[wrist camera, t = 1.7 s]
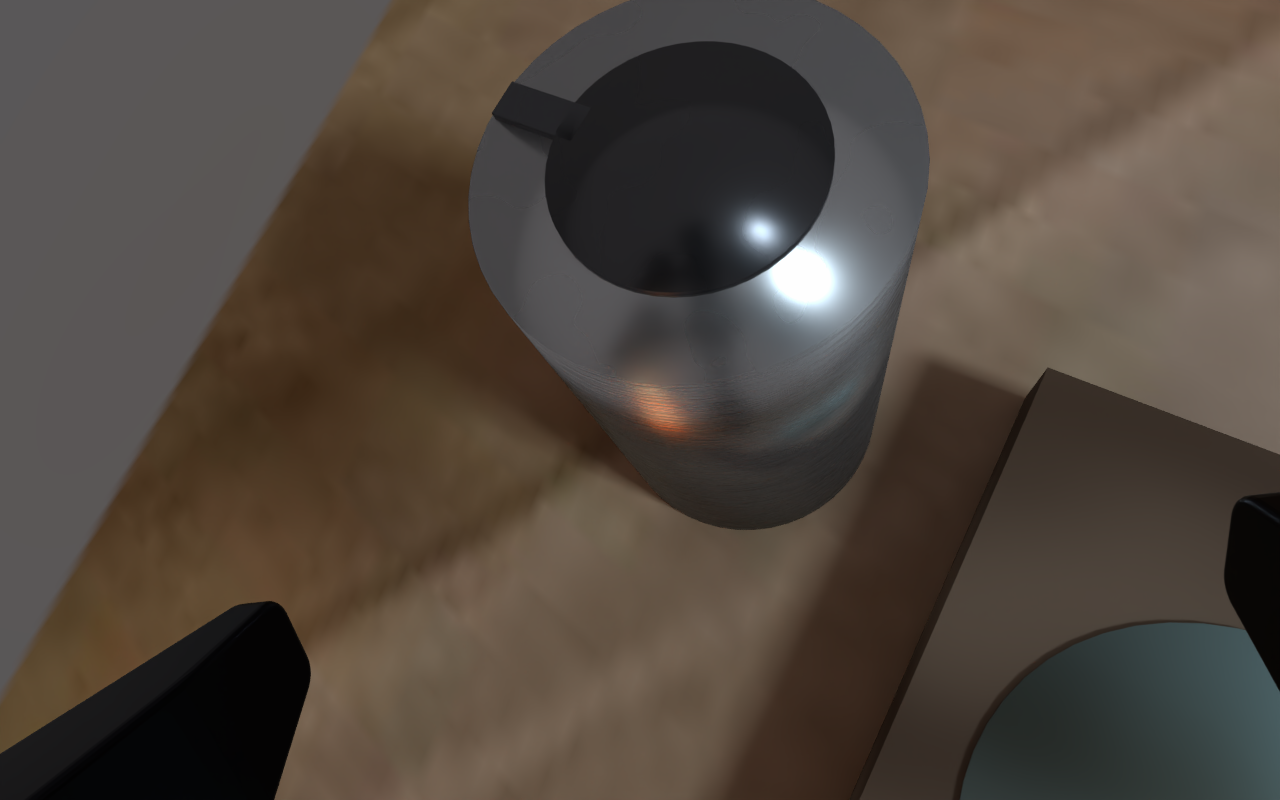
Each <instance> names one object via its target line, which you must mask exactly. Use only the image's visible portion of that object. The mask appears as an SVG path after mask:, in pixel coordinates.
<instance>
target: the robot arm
mask: <svg viewBox="0 0 1280 800" xmlns="http://www.w3.org/2000/svg"><path fill="white" fill-rule="evenodd" d="M1224 584H1225V588H1226V592H1227V595H1228V598H1229V600H1230V602H1231V604H1232V606H1233V608H1234V610H1235V612H1236V614H1237V615H1238V617H1239V619H1240V621H1241V623H1242V624H1243V626H1244V628H1245V630H1246V632H1247V633H1248V635H1249V637H1250V639H1251V641H1252V643H1253V644H1254V646H1255V648H1256V650H1257V652H1258V653H1259V655H1260V657H1261V659H1262V661H1263V663H1264V664H1265V666H1266V668H1267V670H1268V672H1269V673H1270V675H1271V677H1272V679H1273V681H1274V683H1275V684H1276V686H1277V688H1278V690H1279V692H1280V492H1275V493H1266V494H1257V495H1248V496H1244V497H1242V498H1241V499H1239V500H1238V501H1237V502H1236V503H1235V505H1234V507H1233V510H1232V514H1231V521H1230V528H1229V536H1228V544H1227V551H1226V559H1225V567H1224ZM310 677H311V670H310V663H309V660H308V657H307V655H306V653H305V651H304V648H303V646H302V644H301V642H300V640H299V638H298V636H297V634H296V632H295V630H294V628H293V625H292V623H291V621H290V619H289V617H288V615H287V613H286V611H285V610H284V608H283V607H282V606H281V605H279V604H278V603H276V602H272V601H266V602H256V603H247V604H240V605H237V606H234V607H232V608H231V609H229V610H227V611H226V612H224V613H223V614H221V615H219V616H218V617H216V618H215V619H213V620H212V621H210V622H208V623H207V624H205V625H204V626H202V627H200V628H199V629H197V630H196V631H194V632H193V633H191V634H189V635H188V636H186V637H185V638H183V639H181V640H180V641H178V642H177V643H175V644H174V645H172V646H170V647H169V648H167V649H166V650H164V651H162V652H161V653H159V654H158V655H156V656H155V657H153V658H151V659H150V660H148V661H147V662H145V663H143V664H142V665H140V666H139V667H137V668H136V669H134V670H132V671H131V672H129V673H128V674H126V675H124V676H123V677H121V678H120V679H118V680H117V681H115V682H113V683H112V684H110V685H109V686H107V687H105V688H104V689H102V690H101V691H99V692H97V693H96V694H94V695H93V696H91V697H90V698H88V699H86V700H85V701H83V702H82V703H80V704H78V705H77V706H75V707H74V708H72V709H71V710H69V711H67V712H66V713H64V714H63V715H61V716H59V717H58V718H56V719H55V720H53V721H52V722H50V723H48V724H47V725H45V726H44V727H42V728H40V729H39V730H37V731H36V732H34V733H33V734H31V735H29V736H28V737H26V738H25V739H23V740H21V741H20V742H18V743H17V744H15V745H14V746H12V747H10V748H9V749H7V750H6V751H4V752H2V753H1V754H0V800H274V799H275V795H276V792H277V789H278V786H279V782H280V779H281V776H282V773H283V769H284V766H285V763H286V760H287V756H288V753H289V750H290V747H291V743H292V740H293V737H294V734H295V731H296V727H297V724H298V721H299V718H300V714H301V711H302V708H303V705H304V701H305V698H306V695H307V692H308V688H309V684H310Z"/></svg>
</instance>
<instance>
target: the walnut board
mask: <svg viewBox="0 0 1280 800" xmlns="http://www.w3.org/2000/svg"><path fill="white" fill-rule="evenodd" d="M1275 492H1280V455H1279V454H1276V453H1274V452H1271V451H1268V450H1266V449H1263V448H1260V447H1258V446H1255V445H1252V444H1250V443H1247V442H1244V441H1242V440H1239V439H1236V438H1234V437H1231V436H1228V435H1226V434H1223V433H1220V432H1218V431H1215V430H1213V429H1210V428H1207V427H1205V426H1202V425H1199V424H1197V423H1194V422H1191V421H1189V420H1186V419H1183V418H1181V417H1178V416H1175V415H1173V414H1170V413H1167V412H1165V411H1162V410H1159V409H1157V408H1154V407H1151V406H1149V405H1146V404H1143V403H1141V402H1138V401H1135V400H1133V399H1130V398H1127V397H1125V396H1122V395H1119V394H1117V393H1114V392H1111V391H1109V390H1106V389H1104V388H1101V387H1098V386H1096V385H1093V384H1090V383H1088V382H1085V381H1082V380H1080V379H1077V378H1074V377H1072V376H1069V375H1066V374H1064V373H1061V372H1058V371H1056V370H1053V369H1050V368H1047V369H1046V371H1045V372H1044V373H1043V375H1042V376H1041V377H1040V379H1039V380H1038V381H1037V383H1036V384H1035V386H1034V387H1033V388H1032V390H1031V391H1030V392H1029V394H1028V395H1027V396H1026V398H1025V400H1024V403H1023V405H1022V407H1021V409H1020V412H1019V414H1018V416H1017V419H1016V421H1015V423H1014V425H1013V428H1012V430H1011V432H1010V435H1009V437H1008V439H1007V441H1006V444H1005V446H1004V448H1003V451H1002V453H1001V455H1000V457H999V460H998V462H997V464H996V467H995V469H994V471H993V473H992V476H991V478H990V480H989V482H988V485H987V487H986V489H985V492H984V494H983V496H982V498H981V501H980V503H979V505H978V508H977V510H976V512H975V514H974V517H973V519H972V521H971V524H970V526H969V528H968V530H967V533H966V535H965V537H964V540H963V542H962V544H961V546H960V549H959V551H958V553H957V556H956V558H955V560H954V562H953V565H952V567H951V569H950V572H949V574H948V576H947V578H946V581H945V583H944V585H943V587H942V590H941V592H940V594H939V597H938V599H937V601H936V603H935V606H934V608H933V610H932V613H931V615H930V617H929V619H928V622H927V624H926V626H925V629H924V631H923V633H922V635H921V638H920V640H919V642H918V645H917V647H916V649H915V651H914V654H913V656H912V658H911V661H910V663H909V665H908V667H907V670H906V672H905V674H904V677H903V679H902V681H901V683H900V686H899V688H898V690H897V693H896V695H895V697H894V699H893V702H892V704H891V706H890V708H889V711H888V713H887V715H886V718H885V720H884V722H883V724H882V727H881V729H880V731H879V734H878V736H877V738H876V740H875V743H874V745H873V747H872V750H871V752H870V754H869V756H868V759H867V761H866V763H865V766H864V768H863V770H862V772H861V775H860V777H859V779H858V782H857V784H856V786H855V788H854V791H853V793H852V795H851V798H850V800H1280V692H1279V690H1278V688H1277V686H1276V684H1275V683H1274V681H1273V679H1272V677H1271V675H1270V673H1269V672H1268V670H1267V668H1266V666H1265V664H1264V663H1263V661H1262V659H1261V657H1260V655H1259V653H1258V652H1257V650H1256V648H1255V646H1254V644H1253V643H1252V641H1251V639H1250V637H1249V635H1248V633H1247V632H1246V630H1245V628H1244V626H1243V624H1242V623H1241V621H1240V619H1239V617H1238V615H1237V614H1236V612H1235V610H1234V608H1233V606H1232V604H1231V602H1230V600H1229V598H1228V595H1227V592H1226V588H1225V584H1224V567H1225V559H1226V551H1227V544H1228V536H1229V528H1230V521H1231V514H1232V510H1233V507H1234V505H1235V503H1236V502H1237V501H1238V500H1239V499H1241V498H1242V497H1244V496H1248V495H1257V494H1266V493H1275Z"/></svg>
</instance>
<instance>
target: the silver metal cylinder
mask: <svg viewBox="0 0 1280 800" xmlns="http://www.w3.org/2000/svg"><path fill="white" fill-rule="evenodd" d="M492 114H493V116H492V117H491V119H490V121H489V123H488V125H487V127H486V130H485V132H484V135H483V137H482V139H481V142H480V144H479V147H478V150H477V154H476V157H475V161H474V165H473V169H472V173H471V181H470V189H469V225H470V231H471V237H472V243H473V247H474V250H475V254H476V257H477V260H478V263H479V266H480V269H481V271H482V273H483V275H484V277H485V279H486V281H487V283H488V285H489V287H490V289H491V291H492V293H493V294H494V295H495V297H496V298H497V300H498V301H499V302H500V304H501V305H502V306H503V308H504V309H505V311H506V312H507V313H508V315H509V316H510V317H511V318H512V319H513V321H514V322H515V323H516V324H517V326H518V327H519V328H520V329H521V330H522V332H523V333H524V334H525V335H526V336H527V338H528V339H529V340H530V341H531V342H532V344H533V345H534V346H535V347H536V349H537V350H538V351H539V352H540V353H541V355H542V356H543V357H544V358H545V359H546V361H547V362H548V363H549V364H550V366H551V367H552V368H553V369H554V370H555V372H556V373H557V374H558V375H559V376H560V378H561V379H562V380H563V381H564V382H565V384H566V385H567V386H568V387H569V389H570V390H571V391H572V392H573V393H574V395H575V396H576V397H577V398H578V399H579V401H580V402H581V403H582V404H583V406H584V407H585V408H586V409H587V410H588V412H589V413H590V414H591V415H592V416H593V418H594V419H595V420H596V421H597V423H598V424H599V425H600V426H601V427H602V429H603V430H604V431H605V432H606V433H607V435H608V436H609V437H610V438H611V439H612V441H613V442H614V443H615V444H616V446H617V447H618V448H619V449H620V450H621V452H622V453H623V454H624V455H625V456H626V458H627V459H628V460H629V461H630V463H631V464H632V465H633V466H634V467H635V469H636V470H637V471H638V472H639V473H640V475H641V476H642V477H643V478H644V479H645V481H646V482H647V483H648V484H649V486H650V487H651V488H652V489H653V490H654V491H655V492H656V493H657V494H658V495H659V496H660V497H661V498H662V499H663V500H665V501H666V502H667V503H668V504H670V505H671V506H672V507H673V508H675V509H677V510H678V511H680V512H682V513H683V514H685V515H687V516H688V517H691V518H693V519H696V520H698V521H700V522H703V523H706V524H709V525H713V526H717V527H721V528H728V529H735V530H757V529H765V528H772V527H776V526H780V525H784V524H787V523H790V522H793V521H795V520H798V519H800V518H803V517H805V516H807V515H808V514H810V513H812V512H814V511H815V510H817V509H819V508H820V507H822V506H823V505H824V504H826V503H827V502H828V501H830V500H831V499H832V498H833V497H834V496H835V495H836V494H837V493H838V492H839V491H840V490H841V489H842V488H843V487H844V486H845V485H846V484H847V483H848V481H849V480H850V479H851V477H852V476H853V475H854V474H855V472H856V470H857V469H858V467H859V465H860V463H861V461H862V460H863V458H864V455H865V453H866V450H867V448H868V445H869V443H870V438H871V434H872V430H873V426H874V421H875V417H876V412H877V408H878V404H879V399H880V395H881V390H882V386H883V382H884V377H885V373H886V368H887V364H888V360H889V355H890V351H891V347H892V342H893V338H894V333H895V329H896V325H897V320H898V316H899V311H900V307H901V303H902V298H903V294H904V289H905V285H906V281H907V276H908V272H909V267H910V263H911V259H912V254H913V250H914V245H915V241H916V237H917V232H918V228H919V224H920V219H921V215H922V210H923V206H924V202H925V197H926V193H927V188H928V176H929V163H930V158H929V146H928V134H927V130H926V126H925V122H924V118H923V114H922V110H921V106H920V104H919V102H918V99H917V97H916V95H915V93H914V90H913V88H912V86H911V83H910V82H909V80H908V79H907V77H906V75H905V74H904V72H903V71H902V69H901V68H900V66H899V64H898V63H897V61H896V60H895V59H894V58H893V57H892V56H891V54H890V53H889V52H888V51H887V50H886V49H885V48H884V46H883V45H882V44H881V43H880V42H879V41H878V40H877V39H876V38H874V37H873V36H872V35H871V34H870V33H869V32H867V31H866V30H865V29H864V28H863V27H862V26H860V25H859V24H858V23H856V22H854V21H853V20H851V19H850V18H848V17H847V16H845V15H843V14H842V13H840V12H839V11H837V10H835V9H833V8H831V7H829V6H826V5H824V4H822V3H820V2H818V1H816V0H630V1H627V2H624V3H622V4H620V5H618V6H615V7H613V8H611V9H609V10H607V11H604V12H602V13H600V14H598V15H596V16H595V17H593V18H591V19H589V20H588V21H586V22H584V23H582V24H581V25H579V26H577V27H575V28H574V29H573V30H571V31H570V32H568V33H567V34H566V35H564V36H563V37H562V38H560V39H559V40H557V41H556V42H555V43H553V44H552V45H551V46H550V47H549V48H548V49H546V50H545V51H544V52H543V53H542V54H541V55H540V56H539V57H537V58H536V59H535V60H534V61H533V62H532V63H531V64H530V65H529V67H528V68H527V69H526V70H525V71H524V72H523V73H522V74H521V75H520V76H519V78H518V79H517V80H516V81H515V82H511V84H510V86H509V87H508V89H507V90H506V92H505V93H504V95H503V96H502V98H501V100H500V101H499V103H498V104H497V106H496V107H495V109H494V111H493V112H492Z"/></svg>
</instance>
